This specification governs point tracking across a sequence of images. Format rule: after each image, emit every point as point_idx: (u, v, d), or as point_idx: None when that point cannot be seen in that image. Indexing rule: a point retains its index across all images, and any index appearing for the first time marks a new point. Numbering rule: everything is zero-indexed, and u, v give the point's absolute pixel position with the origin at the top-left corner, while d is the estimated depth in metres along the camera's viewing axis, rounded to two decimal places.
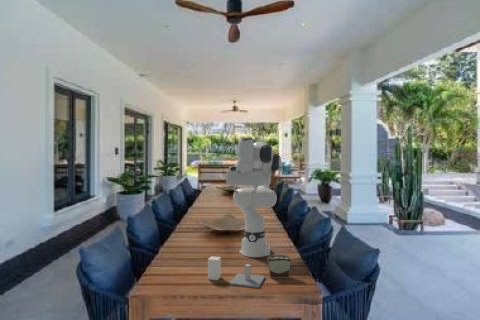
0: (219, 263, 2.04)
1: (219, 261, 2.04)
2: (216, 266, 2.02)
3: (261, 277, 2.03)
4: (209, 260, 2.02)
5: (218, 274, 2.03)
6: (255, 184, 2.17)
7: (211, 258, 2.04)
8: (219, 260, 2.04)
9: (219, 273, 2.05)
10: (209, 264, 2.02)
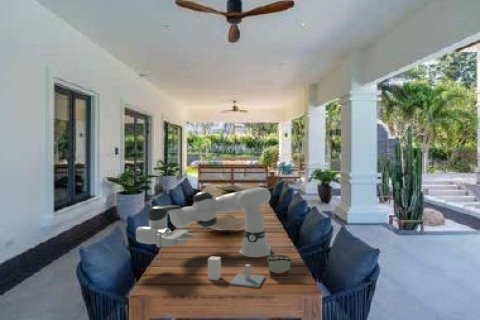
0: (219, 263, 2.04)
1: (219, 261, 2.04)
2: (216, 266, 2.02)
3: (261, 277, 2.03)
4: (209, 260, 2.02)
5: (218, 274, 2.03)
6: (184, 231, 2.14)
7: (211, 258, 2.04)
8: (219, 260, 2.04)
9: (219, 273, 2.05)
10: (209, 264, 2.02)
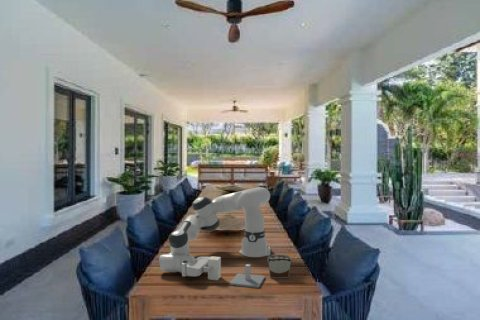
0: (219, 263, 2.04)
1: (219, 261, 2.04)
2: (216, 266, 2.02)
3: (261, 277, 2.03)
4: (209, 260, 2.02)
5: (218, 274, 2.03)
6: None
7: (211, 258, 2.04)
8: (219, 260, 2.04)
9: (219, 273, 2.05)
10: (209, 264, 2.02)
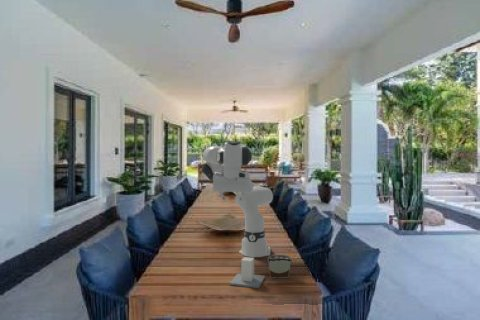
0: (253, 264, 2.00)
1: (253, 262, 2.00)
2: (250, 267, 1.97)
3: (261, 277, 2.03)
4: (243, 261, 1.98)
5: (252, 275, 1.99)
6: None
7: (244, 259, 1.99)
8: (253, 261, 2.00)
9: (252, 274, 2.00)
10: (243, 265, 1.98)
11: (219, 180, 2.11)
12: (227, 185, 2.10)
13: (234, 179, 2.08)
